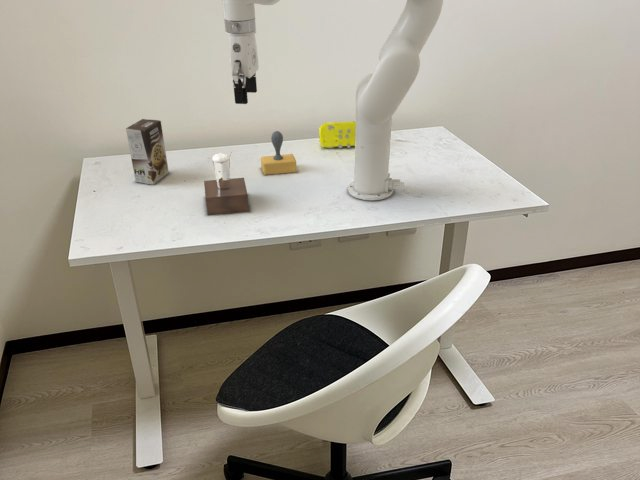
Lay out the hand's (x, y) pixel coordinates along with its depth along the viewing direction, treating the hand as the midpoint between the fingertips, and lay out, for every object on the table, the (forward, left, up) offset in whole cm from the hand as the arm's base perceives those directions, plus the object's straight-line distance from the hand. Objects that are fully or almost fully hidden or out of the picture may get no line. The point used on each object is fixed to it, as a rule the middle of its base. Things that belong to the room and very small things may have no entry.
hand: (246, 97), depth 162 cm
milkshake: (+5, +10, -21) cm, 24 cm away
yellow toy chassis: (-21, -38, -26) cm, 51 cm away
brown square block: (+5, +10, -26) cm, 28 cm away
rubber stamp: (-4, -15, -26) cm, 31 cm away
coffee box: (+32, -4, -26) cm, 42 cm away
